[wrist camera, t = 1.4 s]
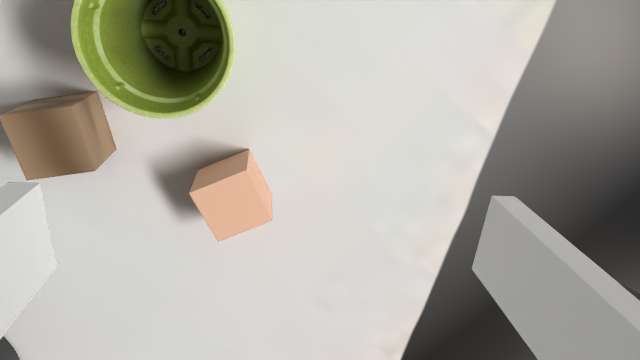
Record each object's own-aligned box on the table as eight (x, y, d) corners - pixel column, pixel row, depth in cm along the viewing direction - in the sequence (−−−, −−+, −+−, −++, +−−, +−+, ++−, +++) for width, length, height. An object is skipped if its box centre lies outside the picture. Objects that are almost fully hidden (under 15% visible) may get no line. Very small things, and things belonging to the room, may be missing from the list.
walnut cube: (57, 156, 36) (26, 180, 31) (34, 99, 34) (-2, 115, 29) (116, 148, 36) (94, 170, 31) (97, 91, 34) (71, 106, 29)
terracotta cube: (223, 213, 40) (217, 241, 35) (198, 169, 37) (188, 193, 33) (272, 194, 39) (272, 220, 35) (249, 148, 37) (246, 169, 33)
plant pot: (93, 28, 32) (35, 40, 24) (172, -67, 30) (138, -89, 22) (190, 113, 35) (167, 147, 27) (267, 32, 33) (267, 43, 26)
